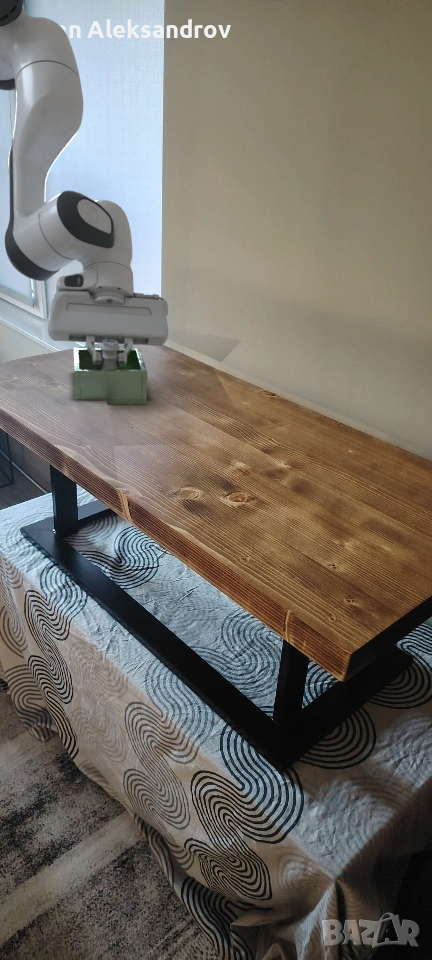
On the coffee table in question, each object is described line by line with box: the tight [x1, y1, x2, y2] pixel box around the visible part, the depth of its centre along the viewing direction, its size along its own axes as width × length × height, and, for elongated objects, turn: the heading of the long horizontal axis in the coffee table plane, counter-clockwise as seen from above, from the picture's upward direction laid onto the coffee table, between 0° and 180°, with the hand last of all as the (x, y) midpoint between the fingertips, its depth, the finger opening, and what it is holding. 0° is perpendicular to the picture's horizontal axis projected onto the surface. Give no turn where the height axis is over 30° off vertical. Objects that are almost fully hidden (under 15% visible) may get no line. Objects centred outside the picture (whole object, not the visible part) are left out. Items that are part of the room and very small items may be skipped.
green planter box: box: [73, 347, 148, 406], centre depth 107 cm, size 12×12×6 cm
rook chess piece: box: [99, 339, 121, 370], centre depth 106 cm, size 4×4×8 cm
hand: (109, 364), depth 105 cm, fingers closed on rook chess piece, 3 cm apart
